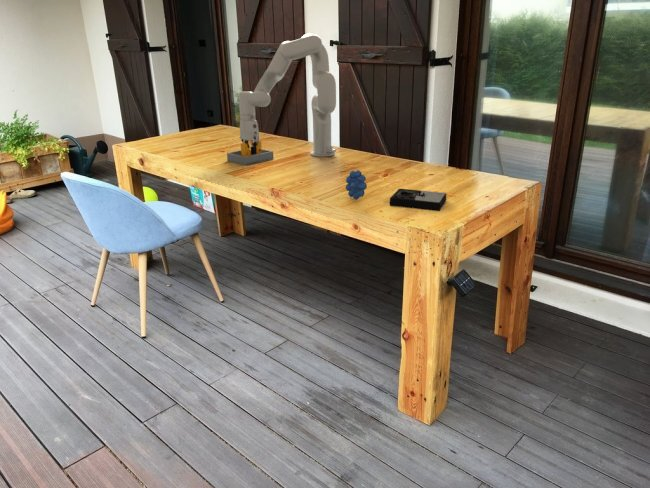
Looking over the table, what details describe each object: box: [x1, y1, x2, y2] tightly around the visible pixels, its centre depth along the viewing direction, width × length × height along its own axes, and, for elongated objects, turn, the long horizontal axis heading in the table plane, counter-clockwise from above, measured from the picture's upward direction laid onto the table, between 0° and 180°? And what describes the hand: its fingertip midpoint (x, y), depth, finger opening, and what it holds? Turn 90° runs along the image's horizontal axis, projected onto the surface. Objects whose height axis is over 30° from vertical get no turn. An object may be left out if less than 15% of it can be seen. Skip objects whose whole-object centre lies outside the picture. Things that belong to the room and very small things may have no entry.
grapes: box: [345, 169, 368, 200], centre depth 207 cm, size 12×7×12 cm, turn 37°
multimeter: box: [389, 188, 447, 212], centre depth 202 cm, size 13×19×5 cm
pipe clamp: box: [240, 139, 263, 157], centre depth 269 cm, size 12×4×6 cm, turn 143°
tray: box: [226, 148, 274, 166], centre depth 271 cm, size 15×18×4 cm
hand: (250, 153), depth 270 cm, fingers closed on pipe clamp, 4 cm apart
